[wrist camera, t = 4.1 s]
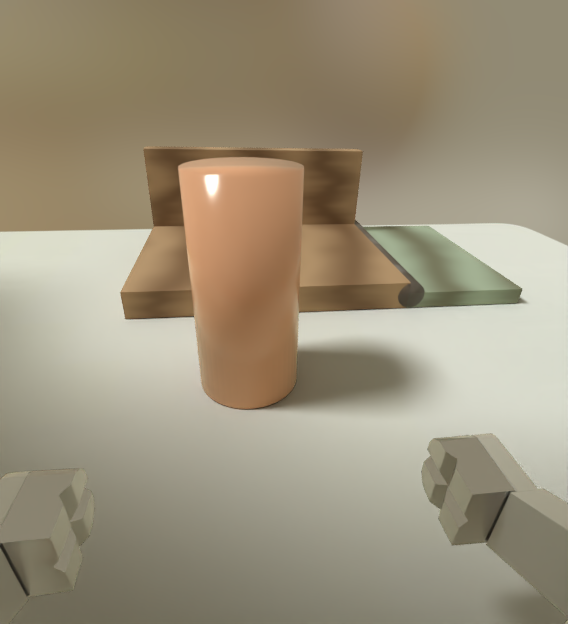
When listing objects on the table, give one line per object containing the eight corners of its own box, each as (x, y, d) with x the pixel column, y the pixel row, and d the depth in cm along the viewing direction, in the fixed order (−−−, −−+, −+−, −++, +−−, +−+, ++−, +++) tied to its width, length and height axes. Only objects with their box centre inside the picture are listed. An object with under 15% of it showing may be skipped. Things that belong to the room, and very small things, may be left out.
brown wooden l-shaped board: (125, 318, 27) (98, 181, 23) (158, 240, 41) (146, 146, 36) (517, 303, 31) (559, 182, 26) (426, 236, 44) (444, 150, 40)
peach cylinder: (199, 413, 19) (171, 178, 14) (203, 352, 24) (183, 157, 19) (304, 404, 20) (315, 176, 15) (288, 346, 25) (293, 157, 19)
